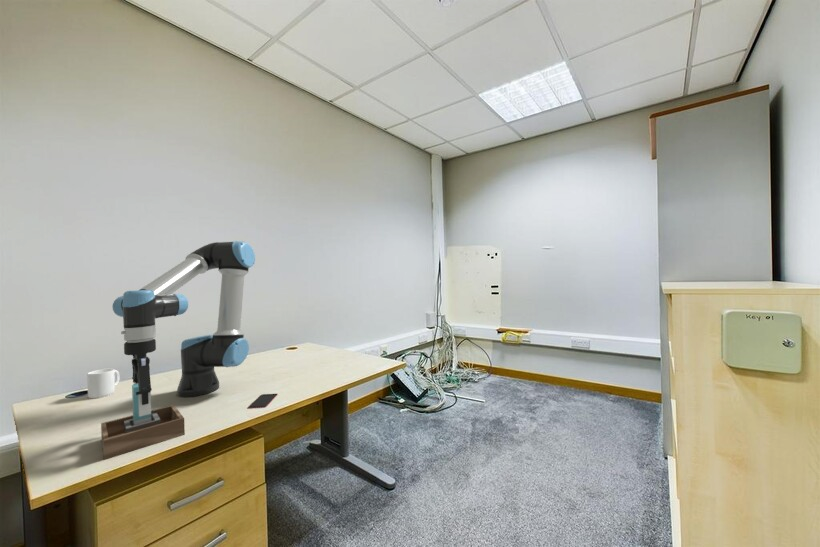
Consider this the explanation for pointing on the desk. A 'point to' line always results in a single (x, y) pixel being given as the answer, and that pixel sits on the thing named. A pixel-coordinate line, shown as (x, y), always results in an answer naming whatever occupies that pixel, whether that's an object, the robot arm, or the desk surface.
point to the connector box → (141, 431)
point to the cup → (102, 382)
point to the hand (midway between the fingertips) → (142, 408)
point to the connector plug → (136, 417)
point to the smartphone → (262, 401)
